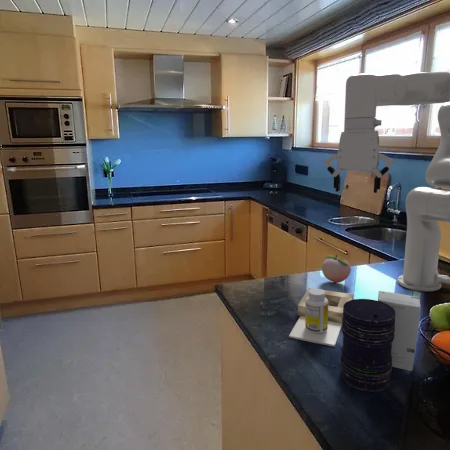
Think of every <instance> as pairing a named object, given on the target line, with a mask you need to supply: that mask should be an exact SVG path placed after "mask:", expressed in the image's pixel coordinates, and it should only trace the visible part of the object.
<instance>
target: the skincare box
mask: <svg viewBox="0 0 450 450" xmlns="http://www.w3.org/2000/svg"><path fill="white" fill-rule="evenodd" d="M377 301H380V302H383V303H385V304H388V305H389V306H391V307H392V308H393V309H394V310H395V312H396V316H395V332H394V335H395V336H394V340H393V342H392V349H391V355H392V368H396V369H400V370H405V371H410V372H412V371H413V368H414V359H415V354H416V353H415V352H416V345H417V338H418V331H419V330H418V329H419V324H420V315H421V301H420V297H419V296H416V295H415V296H414V295H410V294H409V295H408V294H405V293H398V292H390V291H385V290H384V291H382V290H378V295H377Z"/></svg>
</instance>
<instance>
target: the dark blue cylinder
mask: <svg viewBox="0 0 450 450" xmlns="http://www.w3.org/2000/svg"><path fill="white" fill-rule="evenodd" d="M395 316H396V312H395V310H394V309H393V308H392V307H391V306H389V305H388V304H385V303H383V302H380V301H378V300H376V299H369V298H355V299H354V298H353V300H350V301H348V302H346V303H345V304H344V306H343V317H342V327H341V331H342V334H343V337H342V346H341V348H340V349H341V352H340V377H341V378H342V379H343V381H344V382H345V383H346V384H348V385H349V386H350V387H352V388H355V389H357V390H360V391H364V392H380V391H384V390H386V389H387V388H388V387H389V386H390V384H391V376H392V370H393V367H392V355H391V349H392V342H393V340H394V336H395V335H394V332H395Z"/></svg>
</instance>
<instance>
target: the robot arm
mask: <svg viewBox="0 0 450 450" xmlns="http://www.w3.org/2000/svg"><path fill="white" fill-rule="evenodd" d="M344 103H345V104H344V121H343V123H344V125H343V126H344V127H343V131H341V134H340V136H339V142H338V149H337V153H335V154H334V155H332V156H330V157H328V158H326V159H325V160H324V161H323V163H324V165H325V168H326V169H327V171H328V172H329V173H330V174H331V175H332V177H333V189H335V192H337V193H338V192H339V191H341V178H342V177H341V175H340V173H342V171H371V172H373V173H374V175H375V176H374V180H373V181H374V182H373V194H377V193H378V190H381V183H382V182H381V181H382V180H381V179H382V177H383V176H384V175H385V174H386V173H387V172H388V171H390V168H392V166H393V164H394V159H393V158H391V157H389V156H387V155H384V154H382V153H380V135H379V134H380V133H379V131H378V130H376V128H377V127H379V126H382V119H377V115H376V114H377V107H387V106H419V105H420V106H421V105H430V104H431V105H432V104H442V105H441V106H440V107H439V108H438V109H439V110H438V111H437V123H438V127H439V130H440V131H439V133H440V144H439V145H438V147H437V150H436V152H435V154H434V156H433V157H432V159H431V161H430V163H429V165H428V166H427V170H426V171H425V174H424V175H425V176H424V177H425V179H424V180H425V181H426V183H427V184H428V185H429V186H418V187H414V188H412V189H411V190H410V191H409V192H408V193H407V195H406V198H405V203H404V205H405V213H406V237H405V249H404V260H403V270H402V271H403V272H402V274H400V275H399V276H398V277H397V283H398V284H399V285H400V286H402V287H404V288H406V289H409V290H412V291H417V292H435V291H439V290H440V289H441V288H442V283H443V284H447V285H450V277H449V275H444V274H440V273H439V271H438V265H439V255H440V246H441V245H440V244H441V237H442V236H441V235H442V232H441V227H440V224H439V222H443V223H449V224H450V71H420V72H414V73H407V74H402V75H401V74H399V73H395V72H394V73H385V74H373V73H359V74H353V75H350V76H349V77H348V78H347V79H346V81H345V97H344ZM336 160H337V161H336ZM380 160H381V161H383V162H385V166H384V167H382V169H381V170H380V169H379V162H380ZM335 161H336V166H337V168H334V167H333V165H332V162H335ZM430 186H433V187H430Z"/></svg>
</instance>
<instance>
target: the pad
mask: <svg viewBox="0 0 450 450" xmlns="http://www.w3.org/2000/svg"><path fill="white" fill-rule="evenodd" d="M342 326H343V325H342V323H337V322H331V321H328V329H327V331H325V332H324V333H312V332H309V331H308V330H307V329H306V327H305V317H303V316H299V318H298V320H297V321H296V323H295V325H294V326H293V328H292V329H291V332H290V333H289V335H288V338H290V339H294V340H300V341H304V342H305V341H306V342H309V343H312V344H313V343H314V344H318V345H319V344H320V345H323V346H324V345H325V346H329V347H334V348H335V347H336V344H337V340H338V338H339V335H340V333H341V331H342Z"/></svg>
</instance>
